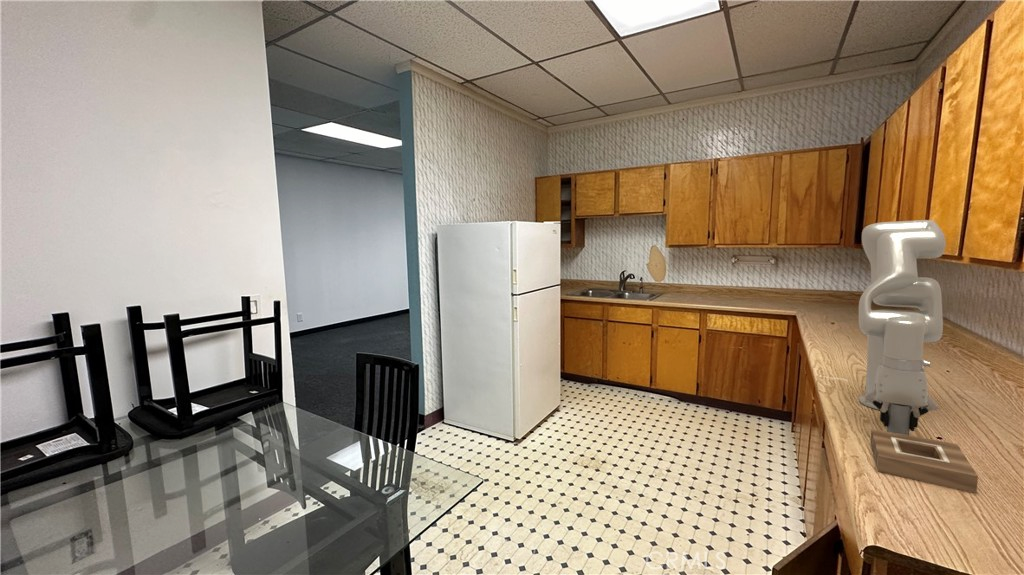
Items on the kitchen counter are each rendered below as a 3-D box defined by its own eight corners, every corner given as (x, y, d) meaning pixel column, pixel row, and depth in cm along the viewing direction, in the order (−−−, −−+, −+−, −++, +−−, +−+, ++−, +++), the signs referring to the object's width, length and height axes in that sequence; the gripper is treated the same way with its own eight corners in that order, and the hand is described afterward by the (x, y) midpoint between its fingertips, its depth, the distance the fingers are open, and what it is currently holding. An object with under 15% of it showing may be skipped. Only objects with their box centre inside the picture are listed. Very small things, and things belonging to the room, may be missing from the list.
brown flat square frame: (870, 442, 110) (871, 428, 109) (956, 459, 100) (957, 443, 100) (877, 471, 97) (878, 455, 97) (976, 493, 88) (977, 475, 87)
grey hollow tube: (885, 432, 114) (887, 397, 112) (907, 436, 111) (910, 401, 110) (886, 439, 110) (888, 403, 109) (909, 443, 108) (912, 407, 106)
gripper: (943, 363, 106) (938, 428, 108) (859, 355, 116) (856, 414, 118) (951, 372, 100) (946, 440, 102) (861, 363, 110) (858, 425, 112)
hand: (898, 426), depth 110 cm, fingers closed on grey hollow tube, 4 cm apart
